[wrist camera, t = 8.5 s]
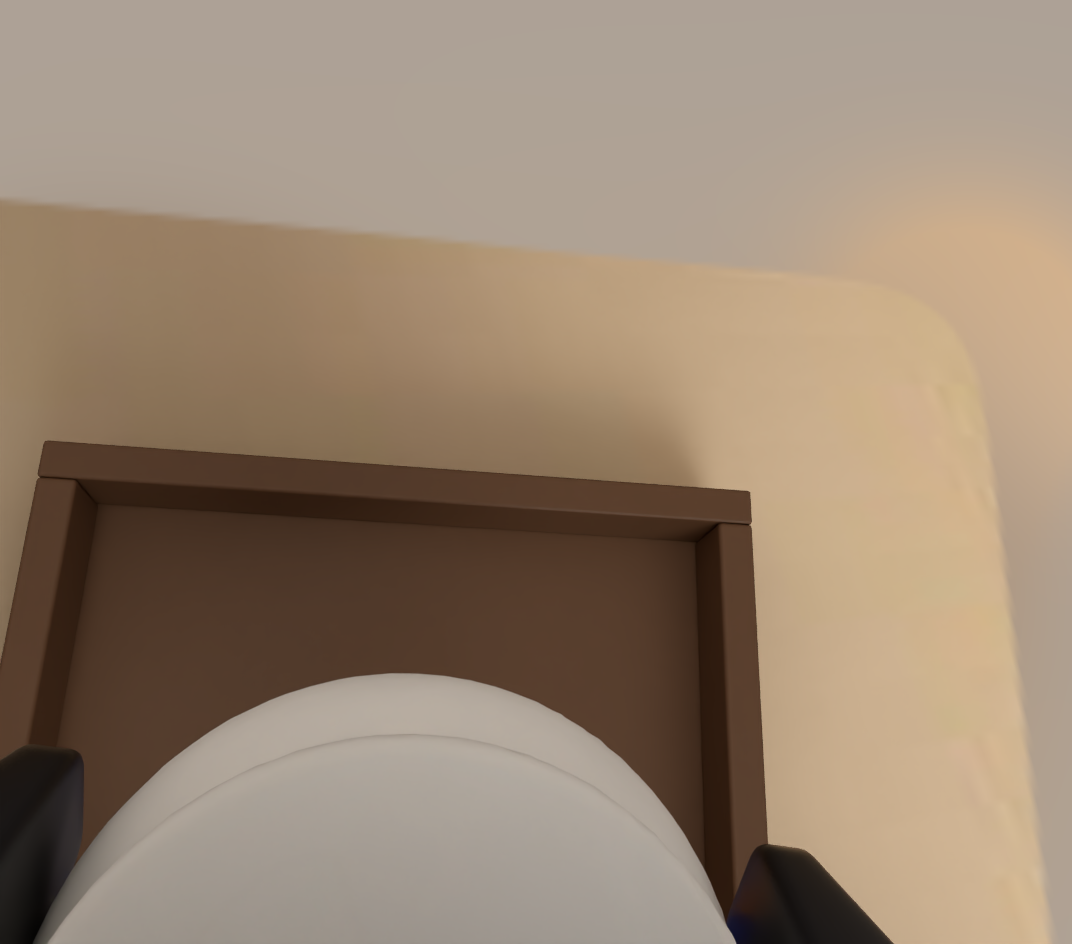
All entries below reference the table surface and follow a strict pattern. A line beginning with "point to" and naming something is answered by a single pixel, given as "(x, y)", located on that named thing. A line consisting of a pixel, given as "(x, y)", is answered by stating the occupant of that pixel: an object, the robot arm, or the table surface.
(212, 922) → the pill bottle
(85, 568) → the tray
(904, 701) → the table surface
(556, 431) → the table surface
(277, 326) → the table surface
